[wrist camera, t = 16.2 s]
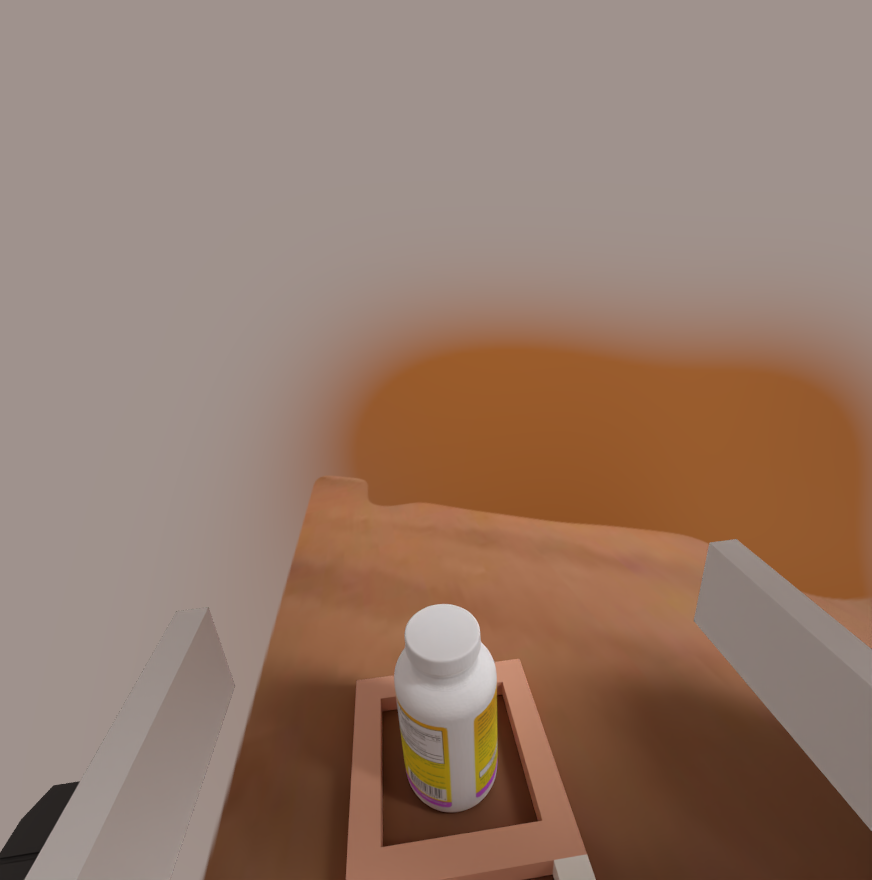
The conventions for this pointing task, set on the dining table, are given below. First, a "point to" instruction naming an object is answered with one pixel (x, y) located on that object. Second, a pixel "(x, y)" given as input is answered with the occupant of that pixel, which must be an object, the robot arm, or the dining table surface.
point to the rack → (477, 853)
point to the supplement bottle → (447, 708)
